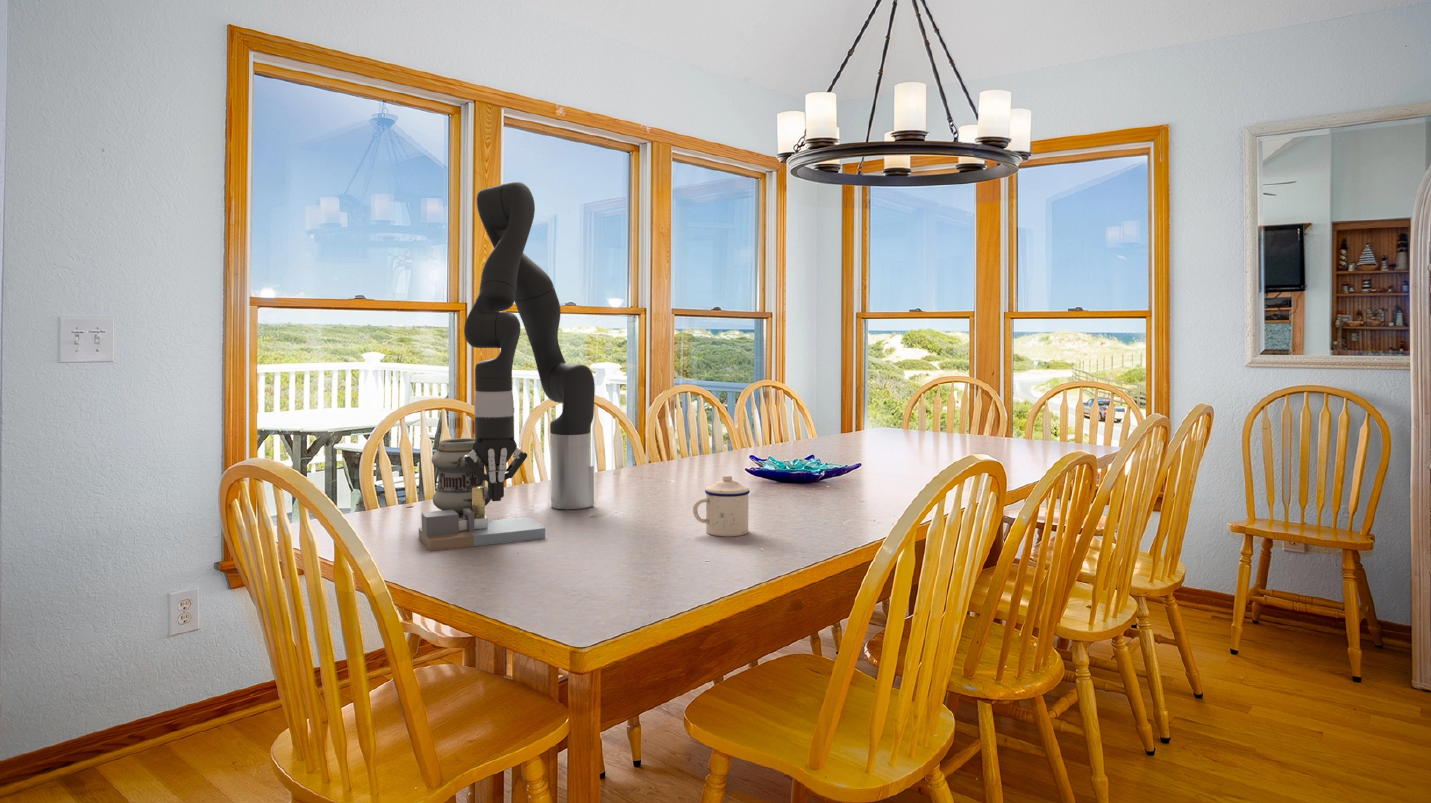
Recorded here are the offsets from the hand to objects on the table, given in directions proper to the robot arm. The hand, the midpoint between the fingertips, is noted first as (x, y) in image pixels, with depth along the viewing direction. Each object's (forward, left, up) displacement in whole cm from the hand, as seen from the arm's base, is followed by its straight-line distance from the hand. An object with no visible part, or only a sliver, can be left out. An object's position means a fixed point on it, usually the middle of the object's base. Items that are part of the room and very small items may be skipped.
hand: (495, 500), depth 178 cm
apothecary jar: (+3, -15, -8) cm, 17 cm away
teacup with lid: (-41, +18, -8) cm, 45 cm away
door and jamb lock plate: (+3, 0, -7) cm, 8 cm away
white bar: (+7, 0, -5) cm, 9 cm away
